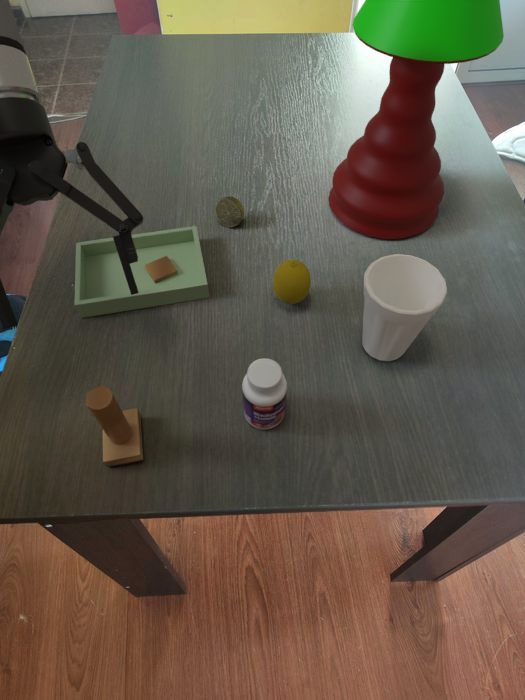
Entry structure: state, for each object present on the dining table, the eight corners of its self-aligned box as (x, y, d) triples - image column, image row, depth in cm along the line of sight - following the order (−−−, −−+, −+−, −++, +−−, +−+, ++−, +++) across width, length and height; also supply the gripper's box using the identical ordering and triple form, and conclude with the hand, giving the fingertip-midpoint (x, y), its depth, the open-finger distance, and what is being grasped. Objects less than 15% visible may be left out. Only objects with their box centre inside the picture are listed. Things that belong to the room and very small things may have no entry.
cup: (342, 319, 70) (356, 255, 59) (408, 315, 70) (434, 250, 59) (355, 376, 64) (373, 316, 53) (426, 371, 64) (459, 311, 54)
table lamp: (406, 164, 92) (501, -176, 55) (458, 228, 81) (619, -143, 44) (312, 182, 89) (346, -167, 52) (353, 251, 78) (433, -128, 41)
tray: (80, 318, 70) (74, 305, 68) (82, 256, 78) (76, 242, 75) (209, 297, 72) (207, 284, 70) (198, 239, 80) (196, 225, 77)
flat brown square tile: (155, 283, 73) (154, 280, 73) (145, 268, 75) (144, 264, 75) (178, 273, 74) (177, 270, 74) (167, 259, 76) (166, 255, 76)
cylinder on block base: (108, 469, 56) (77, 428, 47) (107, 422, 60) (78, 376, 51) (144, 462, 57) (121, 420, 48) (141, 416, 61) (119, 369, 51)
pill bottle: (253, 437, 59) (252, 399, 51) (237, 402, 62) (233, 362, 54) (292, 421, 60) (296, 382, 52) (274, 388, 63) (276, 346, 55)
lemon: (290, 281, 74) (293, 243, 68) (316, 301, 72) (321, 263, 65) (265, 299, 72) (265, 262, 65) (290, 320, 70) (293, 283, 63)
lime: (246, 229, 81) (245, 205, 77) (218, 232, 81) (216, 208, 77) (242, 212, 84) (241, 189, 80) (216, 215, 83) (213, 191, 79)
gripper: (128, 98, 53) (181, 280, 57) (-110, 144, 48) (-32, 337, 53) (124, 70, 46) (185, 280, 50) (-155, 121, 41) (-60, 347, 46)
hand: (74, 310), depth 52 cm, fingers open, 13 cm apart
